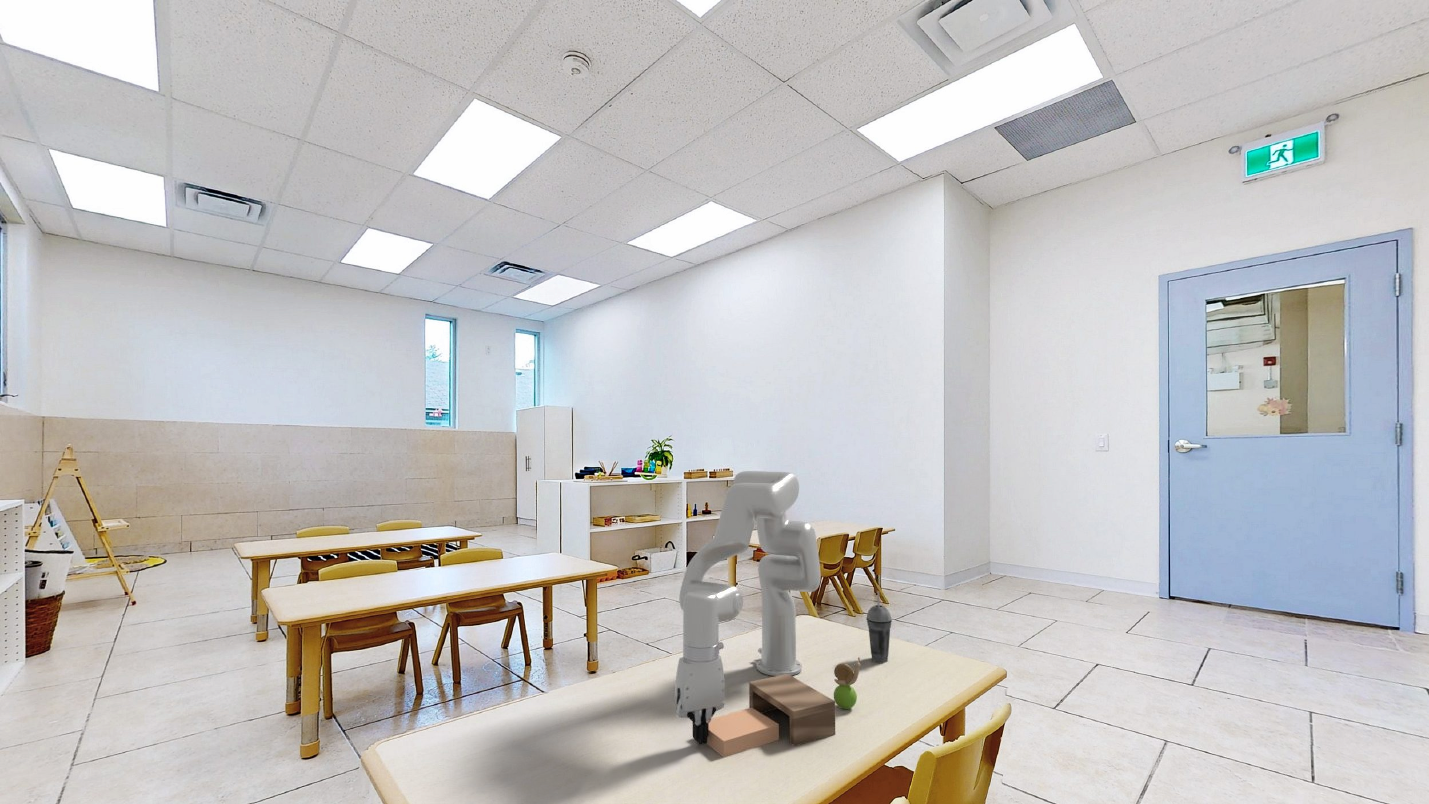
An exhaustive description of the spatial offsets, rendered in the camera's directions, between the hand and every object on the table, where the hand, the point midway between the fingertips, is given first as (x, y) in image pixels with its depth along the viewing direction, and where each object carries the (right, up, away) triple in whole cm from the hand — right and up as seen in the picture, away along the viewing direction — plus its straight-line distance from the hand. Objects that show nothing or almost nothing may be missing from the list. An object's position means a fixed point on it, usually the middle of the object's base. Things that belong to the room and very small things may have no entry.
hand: (700, 741), depth 128 cm
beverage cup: (+51, -5, +51) cm, 73 cm away
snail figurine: (+35, -3, +19) cm, 39 cm away
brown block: (+20, -2, +11) cm, 22 cm away
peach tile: (+8, -2, +4) cm, 9 cm away
